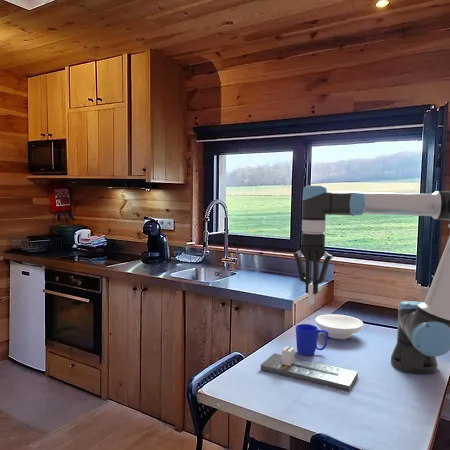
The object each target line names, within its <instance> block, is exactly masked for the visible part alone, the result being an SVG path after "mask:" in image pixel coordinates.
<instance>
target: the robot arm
mask: <svg viewBox="0 0 450 450" xmlns="http://www.w3.org/2000/svg"><path fill="white" fill-rule="evenodd" d="M301 208H302V209H301V210H302V212H301V213H302V217H301V231H302V234H301V246H300V247H299V250H298V251H296V252H293V253H292V254H293V257H294V259H295V261H296V266H297V270H298V271H297V272H298V276H299V280H300V282H303V283H304V284H305V293H306V294H307V295H308V296H307V304H308V305H313V304H315V303H316V295H317V294H318V293H319V285H320V284H323V283H324V282H325V278H326V275H327V272H328V268H329V264H330V261H331V260H332V259H333V257H334V256H333V255H332V254H329V253H328V252H327V249H326V245H325V244H326V234H325V233H326V216H327V215H328V216H352V217H353V216H362V215H364V214H365V215H387V216H388V215H389V216H390V215H391V216H413V217H414V216H415V217H416V216H418V217H431V218H432V219H433V220H441V221H449V222H448V225H447V226H448V228H449V229H450V190H441V191H440V190H437V191H434V192H433V193H408V192H407V193H406V192H405V193H404V192H403V193H402V192H401V193H400V192H399V193H398V192H368V191H367V192H363V191H361V192H360V191H328V190H327V187H326V185H306V186H305V185H304V187H303V191H302V207H301ZM302 257H304V259H305V266H304V263H303V258H302ZM322 258H323V259H324V261H323V263H322V266H321V267H322V268H321V270H320V261H321V259H322ZM312 266H313V270H312ZM397 311H398V312H397V314H398V315H397V316H398V317H397V334H396V335H397V336H396V338H397V339H396V344H395V346H394V349H393V351H392V354H391V356H390V365H391V366H393V367H394V368H395V369H397V370H398V371H402V372H405V373H409V374H414V375H426V376H427V375H432V374H435V373H437V371H438V366H439V365H438V360H437V358H436V357H440V356H443V355H445V354H447V353H449V352H450V235H449V236H448V238H447V242H446V245H445V247H444V250H443V252H442V255H441V258H440V260H439V263H438V266H437V268H436V271H435V273H434V276H433V278H432V282H431V283H430V287H429V289H428V292H427V295H426V297H425V299H424V301H418V300H416V301H414V300H405V301H401V302H399V304H398V309H397Z"/></svg>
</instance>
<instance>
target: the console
mask: <svg viewBox="0 0 450 450" xmlns="http://www.w3.org/2000/svg"><path fill="white" fill-rule="evenodd" d="M260 371H262V372H266V373H270V374H274V375H277V376H282V377H285V378H289V379H295V380H296V381H297V380H299V381H303V382H305V383H311V384H315V385H319V386H324V387H326V386H327V387H326V388H330V387H331V388H330V389H334V388H335V390H338V389H339V390H338V391H342V390H343V391H342V392H348V393H350V391H351V389H352V388H353V386H354V385H355V383H356V381H357V380H358V378H359V371H357V370H352V369H348V368H343V367H339V366H335V365H329V364H325V363H320V362H316V361H312V360H307V359H304V358H303V359H302V358H297V357H294V362H293V363H292V364H291V365H290V366H288V365H284V364H282V354H280V353H273V354H271V355H270V356H269V357H268V358H267V359H266V360H264V361H263V362H262V363H261V364H260Z"/></svg>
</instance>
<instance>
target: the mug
mask: <svg viewBox="0 0 450 450" xmlns="http://www.w3.org/2000/svg"><path fill="white" fill-rule="evenodd" d="M320 333H324V334H325V341H324V344H323V346H322V347H320V348H319V347H318V345H317V344H318V338H319V337H318V336H319V334H320ZM328 337H329V336H328V331H325V330H322V329H319V327H318V326H317V325H313V324H309V323H302V324H301V323H300V324H297V325H296V326H295V338H296V339H295V340H296V341H295V342H296V351H297V353H299V355H303V356H313V355H314V354H315V353H316V350H318V351H324V350H325V348H326V347H327V344H328Z"/></svg>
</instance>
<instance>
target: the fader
mask: <svg viewBox="0 0 450 450" xmlns="http://www.w3.org/2000/svg"><path fill="white" fill-rule="evenodd" d="M295 350H296V349H295V347H292V346H289V345H287V346H285V347H284V348H283V349H282V350H281V355H282V364H284V365H288V366H290V365H291V364H292V363H293V362H294V358H295Z"/></svg>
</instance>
